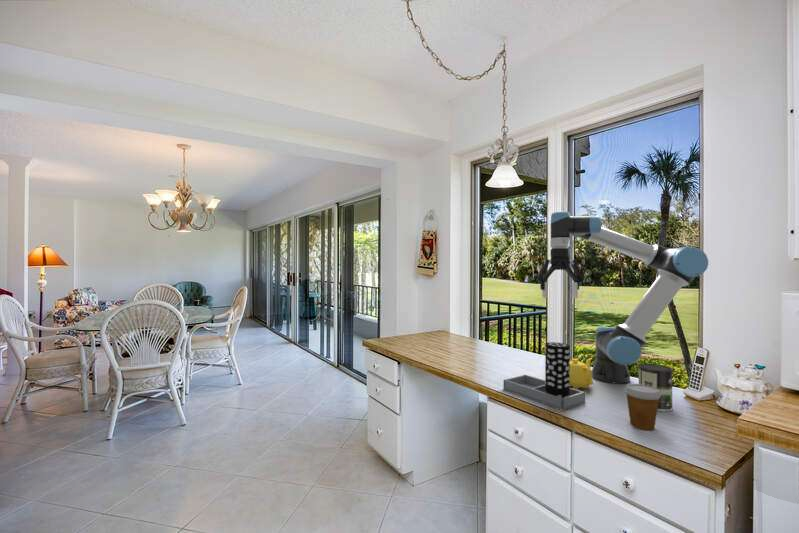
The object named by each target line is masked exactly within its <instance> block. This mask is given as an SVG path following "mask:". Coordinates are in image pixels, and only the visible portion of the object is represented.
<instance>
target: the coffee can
mask: <svg viewBox="0 0 799 533" xmlns="http://www.w3.org/2000/svg"><path fill="white" fill-rule="evenodd" d="M637 367H638V384H641V385H647V386H651V387H654V388H656V389H658V390H659V393H660V394H661V397H660V398H659V402H658V409H657V412H672V411H673V372H674V371H673V370H674V369H673V368H671V367H670V366H667V365H666V366H665V365H661V364H655V363H639V364H638V365H637Z"/></svg>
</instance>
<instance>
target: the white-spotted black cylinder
mask: <svg viewBox="0 0 799 533" xmlns="http://www.w3.org/2000/svg"><path fill="white" fill-rule="evenodd" d="M570 354H571V344H567V343H564V342H558V341H557V342H556V341H554V342H553V341H552V342H551V341H550V342H546V343H545V358H544V359H545V360H544V361H545V364H544V366H545V367H544V368H545V370H544V371H545V373H544V374H545V376H544V378H545V379H544V380H545V393H548V394H551V395H554V396H557V397H560V398H565V397H568V396H570V388H571V386H570V361H571V356H570Z"/></svg>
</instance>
